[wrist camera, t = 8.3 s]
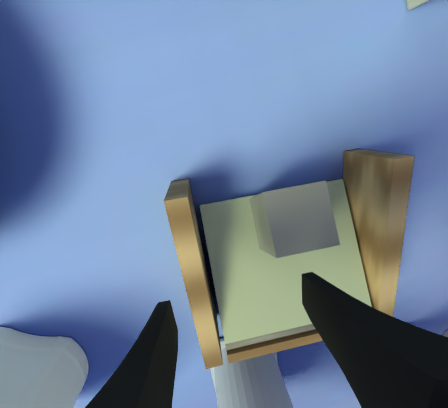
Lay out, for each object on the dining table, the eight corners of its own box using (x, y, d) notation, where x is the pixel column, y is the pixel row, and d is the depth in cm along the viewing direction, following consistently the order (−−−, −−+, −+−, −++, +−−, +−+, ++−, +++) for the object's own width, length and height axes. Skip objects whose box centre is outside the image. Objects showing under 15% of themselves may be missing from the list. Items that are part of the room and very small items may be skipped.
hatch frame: (352, 284, 26) (392, 323, 21) (202, 318, 25) (206, 369, 19) (358, 148, 21) (414, 155, 16) (171, 181, 19) (163, 201, 14)
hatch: (367, 313, 21) (374, 317, 20) (225, 346, 20) (226, 352, 19) (337, 180, 22) (343, 178, 21) (199, 205, 21) (199, 205, 20)
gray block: (307, 239, 20) (340, 244, 15) (259, 249, 20) (276, 258, 15) (297, 190, 20) (326, 180, 15) (249, 199, 20) (263, 192, 15)
